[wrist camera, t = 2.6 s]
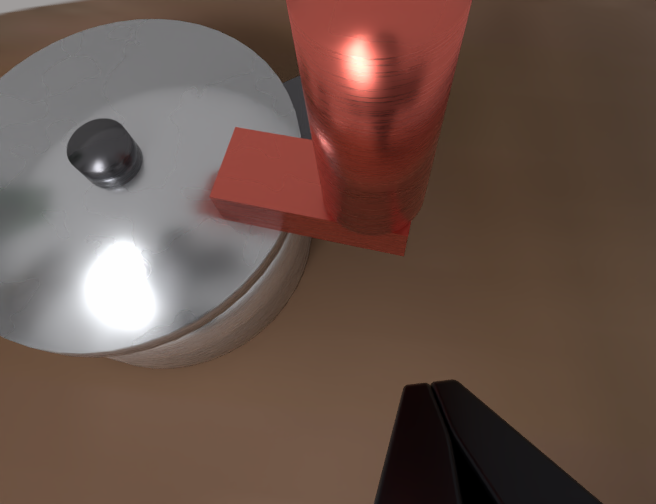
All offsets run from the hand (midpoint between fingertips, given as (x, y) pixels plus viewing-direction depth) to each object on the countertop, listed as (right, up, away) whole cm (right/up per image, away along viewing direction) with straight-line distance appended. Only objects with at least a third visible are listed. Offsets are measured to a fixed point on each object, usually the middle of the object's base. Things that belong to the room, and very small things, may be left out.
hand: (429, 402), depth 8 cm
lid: (-6, +5, +7) cm, 11 cm away
